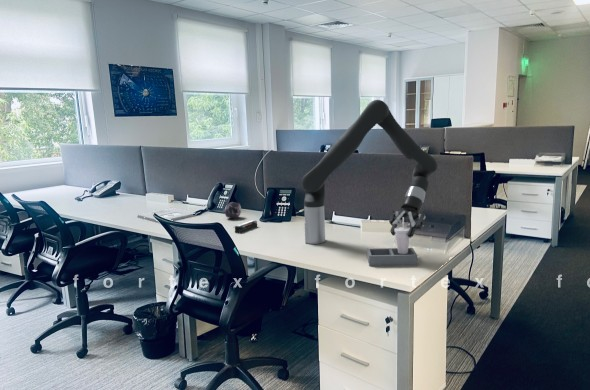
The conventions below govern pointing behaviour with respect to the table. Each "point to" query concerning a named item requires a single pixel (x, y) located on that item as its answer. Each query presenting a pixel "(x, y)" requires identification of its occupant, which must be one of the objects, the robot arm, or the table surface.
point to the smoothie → (402, 238)
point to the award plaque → (168, 214)
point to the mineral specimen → (232, 210)
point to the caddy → (391, 257)
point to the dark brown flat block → (245, 226)
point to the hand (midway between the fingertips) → (400, 235)
